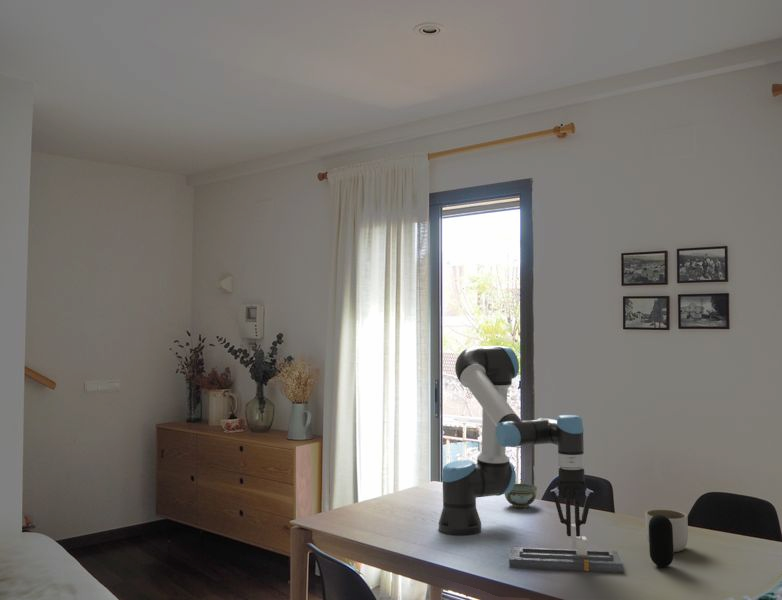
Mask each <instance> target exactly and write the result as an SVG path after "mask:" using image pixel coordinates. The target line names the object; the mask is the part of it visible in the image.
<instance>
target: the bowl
mask: <svg viewBox="0 0 782 600" xmlns="http://www.w3.org/2000/svg"><path fill="white" fill-rule="evenodd" d="M537 490H538V487H537V485H534V484H529V483H515V485H514V487H513V489H512V490H511V491H510V492H509V493H507V494H504V497H505V500H506V501H507V503H509V504H511V505H512V508H514V509H517V510H525V509H529V506H530V505H531V504H532V503H534V501H535V500H536V497H537Z"/></svg>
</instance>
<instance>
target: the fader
mask: <svg viewBox="0 0 782 600" xmlns="http://www.w3.org/2000/svg"><path fill="white" fill-rule="evenodd" d="M576 546H577V549H576V554H577V555H587V550H588V539H587V537H586V536H583V535H580V536H579V537H576Z"/></svg>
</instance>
